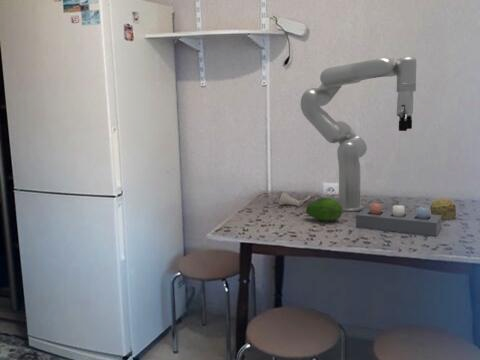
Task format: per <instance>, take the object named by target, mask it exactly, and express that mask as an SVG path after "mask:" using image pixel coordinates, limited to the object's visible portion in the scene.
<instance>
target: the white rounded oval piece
mask: <svg viewBox="0 0 480 360" xmlns="http://www.w3.org/2000/svg"><path fill="white" fill-rule="evenodd" d="M405 209H406V208H405V205H399V204H395V205H393V206H392V211H393V216H394V217H404V213H405V212H406V210H405Z"/></svg>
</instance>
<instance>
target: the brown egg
mask: <svg viewBox="0 0 480 360" xmlns="http://www.w3.org/2000/svg"><path fill="white" fill-rule="evenodd" d="M369 209H370V214H374V215H381V210H382V204H381V203H378V202H374V203H373V202H371V203H369Z"/></svg>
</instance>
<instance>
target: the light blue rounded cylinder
mask: <svg viewBox="0 0 480 360" xmlns="http://www.w3.org/2000/svg"><path fill="white" fill-rule="evenodd" d="M416 213H417V218H416V219H425V220H429V214H430V207H426V206H425V207H424V206H420V207H416Z"/></svg>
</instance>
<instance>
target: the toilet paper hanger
mask: <svg viewBox="0 0 480 360" xmlns="http://www.w3.org/2000/svg"><path fill="white" fill-rule="evenodd" d="M311 196H312V195H311V194H308V196H307V197H306V198H304V199H302V200H298V199H297V198H293V197H291V195H290V196H289V194H288V193H287V191H286V190H283V191H282V193H281V196H280V198H279V203H278V204H279V205H278V206H280V205H281V206H283V205H292V206H296V207H298V206H299V207H301V206H303V205H304V203H305V202H306V201H308V200H309V199H311Z"/></svg>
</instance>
